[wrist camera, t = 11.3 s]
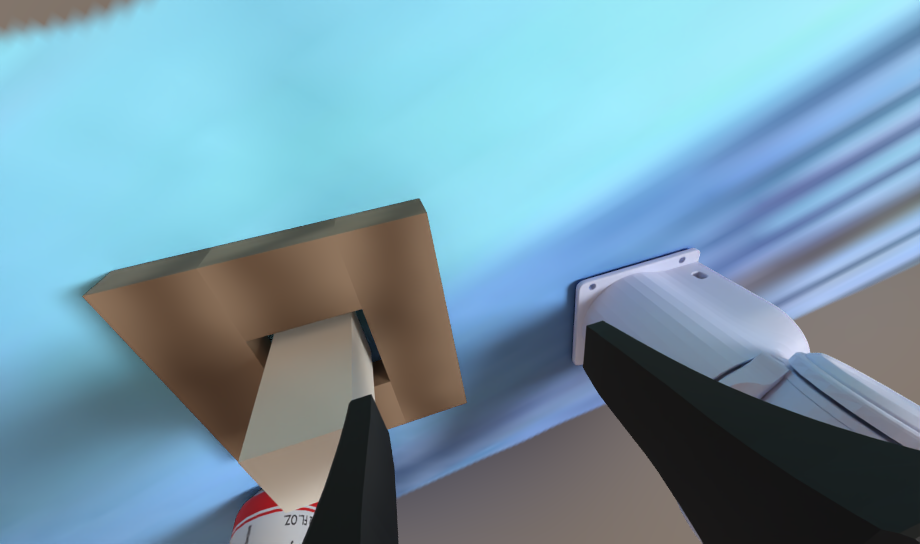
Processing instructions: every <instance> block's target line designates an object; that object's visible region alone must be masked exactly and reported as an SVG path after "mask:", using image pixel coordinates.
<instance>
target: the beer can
mask: <svg viewBox="0 0 920 544" xmlns="http://www.w3.org/2000/svg"><path fill="white" fill-rule="evenodd" d="M317 504H318V502H316V503H313V504H310V505H308V506H305V507H302V508H299V509H296V510H294V511H291V512H288V513H285V512H284V511H283V510H282V509H281V508H280V507H279V506H278V505H277V504H276V503H275V502H274V501H273V499H272V498H271V497H270V496H269V495H268V494H267V493H266V492H265V491H264V490H263V489H261V490H260V491H259V492H257V493H256V494H255V495H254V496H253V497H252V498H250V499H249V500H248V501H247V502H246V503H244V504H243V506H242V508H241V509H240V511H239V513H238V514H237V517H236V520H235V524H234V528H233V532H232V536H231V540H230V544H302V542H303V540H304V537H305V535H306V532H307V530H308V528H309V525H310V523H311V520H312V518H313V515H314V512H315V510H316V507H317Z"/></svg>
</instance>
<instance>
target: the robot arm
mask: <svg viewBox="0 0 920 544" xmlns="http://www.w3.org/2000/svg"><path fill="white" fill-rule="evenodd" d="M699 256H700V251H699V250H697V249H695V248H691V249H687V250H684V251H681V252H677V253H674V254H671V255H667V256H664V257H660V258H657V259H654V260H650V261H647V262H643V263H640V264H637V265H633V266H630V267H626V268H623V269H620V270H616V271H613V272H609V273H606V274H603V275H599V276H596V277H593V278H589V279H586V280H583V281H581V282H579V283H578V285H577V287H576V299H575V318H574V336H573V354H572V361H573V363H574V364H575V365H582V364H583V368H584V370H585V372H586V374H587V375H588V377H589V379H590V380H591V382H592V384H593V385H594V387H595V389H596V390H597V392H598V393H599V395H600V396H601V398H602V399H603V400H604V402H605V403H606V404H607V405H608V407H609V408H610V409H611V411H612V412H613V413H614V415H615V416H616V417H617V418H618V419H619V421H620V422H621V423H622V425H623V426H624V427H625V429H626V430H627V431H628V432H629V434H630V435H631V436H632V438H633V439H634V440H635V441H636V443H637V444H638V445H639V447H640V448H641V449H642V450H643V452H644V453H645V454H646V456H647V457H648V458H649V460H650V461H651V462H652V464H653V465H654V466H655V468H656V469H657V471H658V472H659V474H660V475H661V477H662V478H663V480H664V481H665V483H666V485H667V486H668V488H669V489H670V491H671V492H672V494H673V496H674V497H675V499H676V500H677V502H678V505H679V508H680V510H681V512H682V514H683V516H684V518H685V519H686V521H687V523H688V524H689V526H690V528H691V529H692V531H693V532H694V533H695V535H696V536H697V538H698V539H699V540H700V542H701V543H702V544H920V406H919V405H917V404H915V403H914V402H912V401H910V400H909V399H907V398H905V397H904V396H902V395H900V394H898V393H897V392H895V391H893V390H892V389H890V388H888V387H886V386H885V385H883V384H881V383H879V382H878V381H876V380H874V379H872V378H871V377H868V376H867V375H865V374H863V373H862V372H860V371H858V370H856V369H854V368H852V367H850V366H849V365H847V364H845V363H843V362H841V361H839V360H837V359H835V358H833V357H831V356H828V355H826V354H823V353H810V350H809V345H808V342H807V340H806V338H805V336H804V334H803V333H802V331H801V330H800V328H799V327H798V326H797V324H796V323H795V322H794V321H793V320H792V319H791V318H790V317H789V316H788V315H787V314H786V313H785V312H783V311H782V310H781V309H780V308H778V307H777V306H775V305H773V304H772V303H770V302H768V301H766V300H765V299H763V298H761V297H759V296H758V295H756V294H754V293H752V292H750V291H749V290H747V289H745V288H743V287H742V286H740V285H738V284H736V283H735V282H733V281H731V280H729V279H727V278H726V277H724V276H722V275H720V274H719V273H717V272H715V271H713V270H711V269H710V268H708V267H706V266H704V265H703V264H701V263H699V262H698V260H699ZM591 284H592V285H591ZM590 285H591V286H590ZM589 286H590V287H589ZM302 544H398V528H397V509H396V489H395V472H394V462H393V456H392V449H391V443H390V437H389V432H388V430H387V428H386V425H385V423H384V421H383V419H382V416H381V414H380V412H379V410H378V408H377V405H376V403H375V401H374V399H373V396H372V394H370V395H367V396H363V397H360V398H357V399H354V400H351V401H350V403H349V405H348V409H347V414H346V418H345V422H344V426H343V429H342V433H341V436H340V440H339V443H338V447H337V450H336V453H335V456H334V459H333V462H332V465H331V468H330V471H329V474H328V477H327V480H326V483H325V486H324V489H323V491H322V494H321V497H320V499H319V502H318V504H317V507H316V510H315V512H314V515H313V518H312V520H311V523H310V525H309V528H308V530H307V532H306V535H305V537H304V540H303V542H302Z"/></svg>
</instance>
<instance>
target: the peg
mask: <svg viewBox="0 0 920 544" xmlns="http://www.w3.org/2000/svg"><path fill="white" fill-rule="evenodd" d="M370 394H372V396H373V399H374V401H375V393H374V380H373V367H372V353H371V349H370V347H369V344H368V342H367V339H366V337H365V334H364V332H363V329H362V327H361V324H360V322H359V319H358V317H357V314H356V312H355V311H353V312H350V313H346V314H343V315H339V316H336V317H332V318H328V319H325V320H321V321H318V322H314V323H310V324H307V325H303V326H300V327H296V328H293V329H289V330H285V331H282V332H278V333H275V334H274V336H273V340H272V344H271V347H270V351H269V354H268V358H267V361H266V365H265V368H264V372H263V376H262V379H261V383H260V386H259V390H258V393H257V397H256V400H255V404H254V408H253V411H252V415H251V418H250V422H249V425H248V429H247V432H246V436H245V440H244V443H243V447H242V450H241V454H240V457H239V461H238V463H239V464H240V465H241V466H242V467H243V469H244V470H245V471H246V472H247V473H248V474H249V475H250V476H251V477H252V478H253V479H254V480H255V481H256V482H257V483H258V485H259V486H260V487H261V488H262V489H263V490H264V491H265V492H266V493H267V494H268V495H269V496H270V497H271V498H272V499H273V501H274V502H275V503H276V504H277V505H278V506H279V507H280V508H281V509H282V510H283V511H284V512H285V513H288V512H291V511H294V510H296V509H299V508H302V507H305V506H308V505H310V504H313V503H316V502H319V499H320V497H321V494H322V491H323V489H324V486H325V483H326V480H327V477H328V474H329V471H330V468H331V465H332V462H333V459H334V456H335V453H336V450H337V447H338V443H339V440H340V436H341V433H342V429H343V426H344V422H345V418H346V414H347V409H348V405H349V403H350V401H351V400H354V399H357V398H360V397H363V396H367V395H370Z"/></svg>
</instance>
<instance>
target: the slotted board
mask: <svg viewBox="0 0 920 544" xmlns="http://www.w3.org/2000/svg"><path fill="white" fill-rule="evenodd" d="M82 297H83V298H84V299H85V300H86V301H87V302H88V303H89V304H90V305H91V306H92V307H93V308H94V309H95V310H96V311H97V313H98V314H99V315H100V316H101V317H102V318H103V319H104V320H105V321H106V322H107V323H108V324H109V325H110V326H111V327H112V328H113V330H114V331H115V332H116V333H117V334H118V335H119V336H120V337H121V338H122V339H123V340H124V341H125V342H126V343H127V344H128V345H129V346H130V348H131V349H132V350H133V351H134V352H135V353H136V354H137V355H138V356H139V357H140V358H141V359H142V360H143V361H144V362H145V363H146V365H147V366H148V367H149V368H150V369H151V370H152V371H153V372H154V373H155V374H156V375H157V376H158V377H159V378H160V379H161V380H162V381H163V383H164V384H165V385H166V386H167V387H168V388H169V389H170V390H171V391H172V392H173V393H174V394H175V395H176V396H177V397H178V398H179V400H180V401H181V402H182V403H183V404H184V405H185V406H186V407H187V408H188V409H189V410H190V411H191V412H192V413H193V414H194V415H195V416H196V418H197V419H198V420H199V421H200V422H201V423H202V424H203V425H204V426H205V427H206V428H207V429H208V430H209V431H210V432H211V433H212V435H213V436H214V437H215V438H216V439H217V440H218V441H219V442H220V443H221V444H222V445H223V446H224V447H225V448H226V449H227V450H228V452H229V453H230V454H231V455H232V456H233V457H234V458H235V459H236V460H237V461H239V457H240V454H241V450H242V447H243V443H244V440H245V436H246V432H247V429H248V425H249V422H250V418H251V415H252V411H253V408H254V404H255V400H256V397H257V393H258V390H259V386H260V383H261V379H262V376H263V372H264V368H265V365H266V361H267V358H268V354H269V351H270V347H271V344H272V343H271V341H270V340H269V338H268V336H267V335H271V334H275V333H278V332H282V331H285V330H289V329H293V328H296V327H300V326H303V325H307V324H310V323H314V322H318V321H321V320H325V319H328V318H332V317H336V316H339V315H343V314H346V313H350V312H353V311H357V310H361V309H362V310H363V313H364V315H365V318H366V320H367V323H368V325H369V328H370V331H371V333H372V336H373V338H374V341H375V344H376V346H377V349H378V351H379V354H380V356H381V359H382V360H378V361H375V362H372V367H373V380H374V393H375V403H376V405H377V408H378V410H379V412H380V414H381V416H382V419H383V421H384V423H385V425H386V428H387V429H390V428H393V427H396V426H399V425H402V424H405V423H408V422H411V421H414V420H417V419H420V418H423V417H426V416H429V415H432V414H435V413H438V412H441V411H444V410H447V409H450V408H453V407H456V406H459V405H462V404H465V403H467V401H466V397H465V392H464V387H463V382H462V378H461V373H460V368H459V363H458V359H457V354H456V349H455V344H454V340H453V335H452V330H451V325H450V321H449V316H448V311H447V306H446V302H445V297H444V292H443V287H442V283H441V278H440V273H439V268H438V264H437V259H436V254H435V249H434V245H433V240H432V235H431V230H430V226H429V221H428V216H427V212H426V210H425V208H424V206H423V204H422V203H421V201H420V199H415V200H411V201H406V202H402V203H398V204H394V205H389V206H385V207H381V208H377V209H372V210H368V211H364V212H360V213H355V214H351V215H347V216H343V217H339V218H334V219H330V220H326V221H322V222H317V223H313V224H309V225H305V226H300V227H296V228H292V229H288V230H284V231H279V232H275V233H271V234H267V235H262V236H258V237H254V238H250V239H245V240H241V241H237V242H233V243H228V244H224V245H220V246H216V247H212V248H207V249H203V250H199V251H195V252H190V253H186V254H182V255H178V256H173V257H169V258H165V259H161V260H157V261H152V262H148V263H144V264H140V265H135V266H131V267H127V268H123V269H118V270H114V271H111V272H110V273H109V274H108V275H106V276H105V277H104V278H103V279H102V280H101V281H99V282H98V283H97V284H96V285H95V286H94V287H93V288H91V289H90V290H89V291H88V292H87V293H86V294H84V295H83V296H82Z"/></svg>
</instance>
